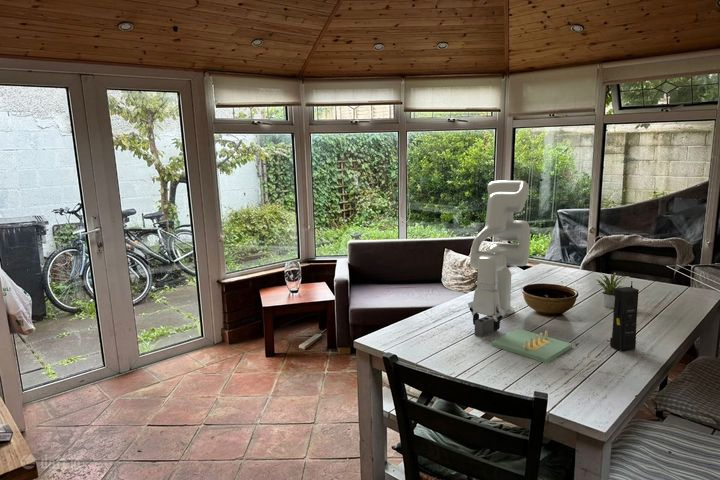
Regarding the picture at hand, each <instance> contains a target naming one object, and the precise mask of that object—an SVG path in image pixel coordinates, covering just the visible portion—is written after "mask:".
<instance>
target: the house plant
mask: <svg viewBox="0 0 720 480" xmlns="http://www.w3.org/2000/svg"><path fill="white" fill-rule="evenodd" d="M600 274H602V276H603V277H604V278H602V277H601V276H599V278H601V280H602V281H603V282H602V281H601V280H600V279H597V278H594V279H595V280H596V282H597V283H598V284H596V286H600V287H601V288H603V291H601V300H602V306H603V307H605V308H608V309H614V302H615V297H614V295H613V293H614V288H621V287H624V286H623V285H619V284H620V283H622V282H624V280H625V279H626V278H629V277H631V276H630V275H629V276H628V275H627V276H623V277H621V278H620V279H619V277H620V275H619V276H617V277H616V275H617V273H616V272H613V274H612V273H610V278H609V276H608V275H606V273H603V272H600ZM614 280H615V281H614Z"/></svg>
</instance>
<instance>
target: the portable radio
mask: <svg viewBox="0 0 720 480" xmlns="http://www.w3.org/2000/svg"><path fill="white" fill-rule="evenodd" d="M633 283H634V281H630V284H631V285H630V286H623V287H620V288H617V287H616V288H614V293H613V295H614V297H615V302H614V308H613V319H612V331H611V337H610V339H609V340H610V341H609V345H610V347H612V348H614V349H616V350H618V351H620V352H626V351H631V350H635V349H637V343H636V339H637V324H638V322H637V321H638V320H637V318H638V305H639V294H640V293H639V292H640V291H639V289H638V288H634V287H633Z"/></svg>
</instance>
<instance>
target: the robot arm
mask: <svg viewBox="0 0 720 480" xmlns="http://www.w3.org/2000/svg"><path fill="white" fill-rule="evenodd" d="M529 188H530V187H529V184H528V183H527V181H525V180H517V179H516V180H512V179H511V180H509V179H508V180H507V179H506V180H505V179H501V180H500V179H499V180H492V181H490V182H489V183H488V184H487V193H488V199H487V207H486V215H485V221H484V222H485V224H484V227H483V228H482V229H481V231H479V232H478V233H477V234H476V236H475V237H474V239H473V241H472V244H471V251H470V257H469V258H470V259H469V262H470V265H471V267H472V268H473V269H475V270H477V280H476V281H475V285H477V286H476V287H475V290H474V293H473V299H472V301H469V302H468V303H467V305H468V308H469V310H470V313H471V315H472V324H473V325H474V326H475V321H476V320H478V319H480V314H481V315H484V316H493V318H494V320H495V321H494V327H493V330H494V331H495V332H497V331H498V330H500V326H501V320H502V319H503V318H505V316H506V315H511V314H513V313H514V311H515V309H514V308H513V307H512V306H511V300H512V299H511V298H512V296H511V295H512V294H511V293H512V273H511V271H510V268H509V267H508V266H512V267H513V266H516V267H525V266H526V265H528V263H529V257H530V241H531V238H530V237H531V227H530V224H529V222H528V221H526V220H521V219H520V220H519V219H518V220H517V219H514V213H521V212H522V211H523V210H524V208H525V205H526V203H527V198H528V197H529V196H528V195H529ZM491 237H493V238H494V239H495V240H498V241H506V242H507V241H508V242H517V243H518V244H515V243H514V244H512V243H500V242H499V243H493V244H491V245H490V246H489V247H488V251H484V250H481V251H480V247H481V245H482V243H483V242H484V241H486V240H487V239H488V238H491ZM496 316H497V317H496ZM496 330H497V331H496Z"/></svg>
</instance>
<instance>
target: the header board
mask: <svg viewBox="0 0 720 480" xmlns="http://www.w3.org/2000/svg"><path fill="white" fill-rule="evenodd" d="M548 333H549V332H548V330H546V329H545V331H544V333H543V332H540V333H535V332H531V331H527V330H524V329H521V328H516V329H514V330H513V331H511V332H509V333H507V334H505V335H503V336H501V337H499V338H496V339H494V340H492V341H491V346H493V347H496V348H498V349H502V350H505V351H507V352H511V353H514V354H517V355H519V356H523V357H527V358H528V359H529V358H530V359H533V360H536V361H538V362H540V363H541V362H542V363H545V364H547V363H549V362H551V361H553V360H554V359H555V358H557V357H559V356H560V355H561V354H562V355H563V354H564V353H565V352H567V351H569V350H570V349H572V347H573V345H572V343H570V342H566V341H563V340H559V339H557V338H553V337H548Z"/></svg>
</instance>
